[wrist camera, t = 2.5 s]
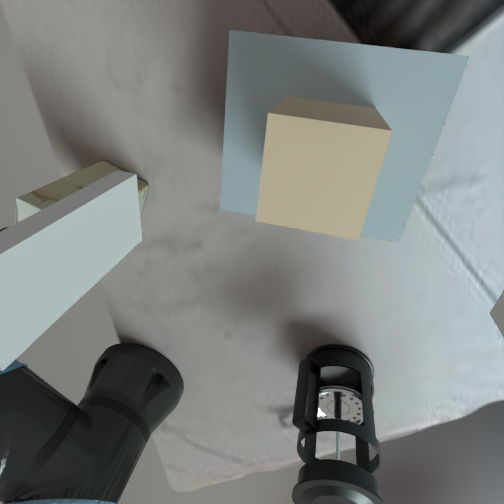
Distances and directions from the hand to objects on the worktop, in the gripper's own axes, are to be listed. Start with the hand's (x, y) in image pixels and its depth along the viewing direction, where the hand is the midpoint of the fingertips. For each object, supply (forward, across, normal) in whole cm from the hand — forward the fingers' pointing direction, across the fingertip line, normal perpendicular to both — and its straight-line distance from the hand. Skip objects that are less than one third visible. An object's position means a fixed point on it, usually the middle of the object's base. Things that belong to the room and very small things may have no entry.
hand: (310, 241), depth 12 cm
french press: (+23, +8, -31) cm, 40 cm away
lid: (+16, 0, 0) cm, 16 cm away
